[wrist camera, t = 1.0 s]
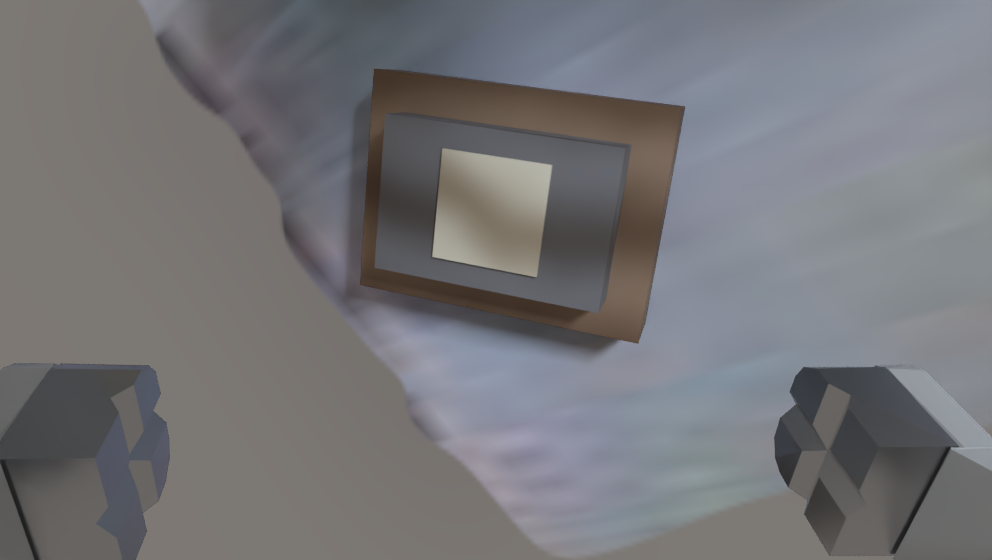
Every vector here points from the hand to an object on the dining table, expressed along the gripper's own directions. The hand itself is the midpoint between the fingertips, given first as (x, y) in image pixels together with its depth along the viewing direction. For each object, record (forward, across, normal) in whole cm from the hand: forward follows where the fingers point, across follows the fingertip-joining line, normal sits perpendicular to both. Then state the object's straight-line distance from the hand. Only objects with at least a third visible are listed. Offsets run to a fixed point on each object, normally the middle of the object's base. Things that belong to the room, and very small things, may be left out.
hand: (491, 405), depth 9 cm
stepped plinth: (+30, -6, +10) cm, 33 cm away
